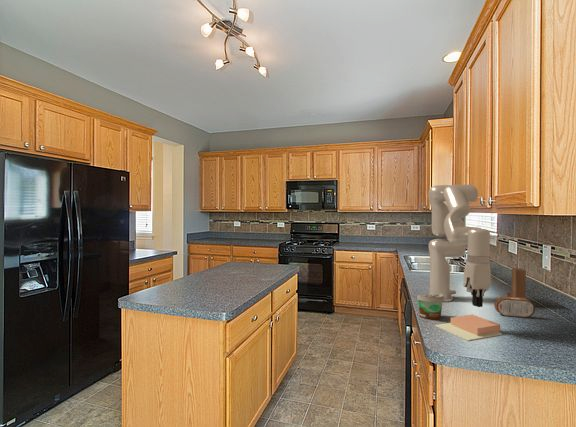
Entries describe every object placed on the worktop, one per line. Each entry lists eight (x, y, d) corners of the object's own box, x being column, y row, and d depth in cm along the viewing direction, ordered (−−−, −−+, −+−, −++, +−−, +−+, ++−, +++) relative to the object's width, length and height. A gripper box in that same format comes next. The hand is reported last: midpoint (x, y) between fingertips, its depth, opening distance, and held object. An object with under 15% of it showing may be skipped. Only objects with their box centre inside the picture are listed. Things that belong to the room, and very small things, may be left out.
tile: (472, 314, 131) (450, 317, 126) (500, 324, 119) (477, 328, 115) (472, 320, 131) (450, 324, 126) (500, 331, 119) (477, 335, 115)
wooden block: (506, 301, 161) (507, 266, 160) (516, 301, 159) (517, 266, 159) (514, 306, 152) (515, 269, 152) (525, 307, 151) (526, 270, 150)
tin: (532, 316, 138) (532, 297, 137) (536, 319, 134) (536, 300, 134) (493, 313, 141) (494, 295, 141) (496, 316, 138) (496, 297, 138)
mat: (467, 320, 132) (467, 320, 132) (502, 334, 118) (502, 333, 118) (435, 326, 126) (435, 325, 126) (468, 341, 112) (468, 340, 112)
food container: (426, 322, 130) (426, 298, 130) (416, 317, 136) (416, 294, 136) (450, 319, 133) (451, 296, 133) (440, 314, 139) (440, 292, 139)
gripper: (483, 257, 129) (482, 301, 129) (455, 259, 124) (455, 305, 124) (500, 260, 122) (499, 306, 122) (472, 262, 117) (472, 310, 117)
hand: (477, 305), depth 123 cm, fingers closed
